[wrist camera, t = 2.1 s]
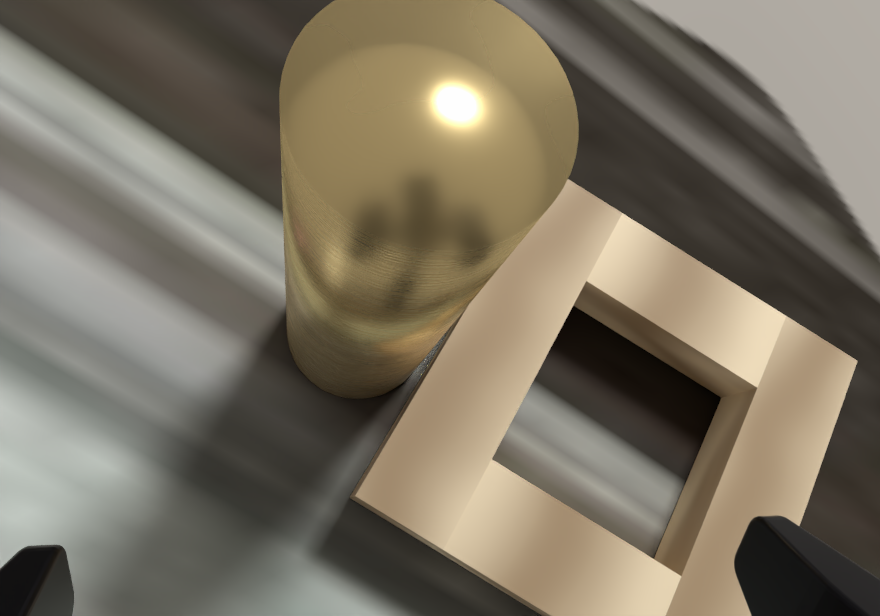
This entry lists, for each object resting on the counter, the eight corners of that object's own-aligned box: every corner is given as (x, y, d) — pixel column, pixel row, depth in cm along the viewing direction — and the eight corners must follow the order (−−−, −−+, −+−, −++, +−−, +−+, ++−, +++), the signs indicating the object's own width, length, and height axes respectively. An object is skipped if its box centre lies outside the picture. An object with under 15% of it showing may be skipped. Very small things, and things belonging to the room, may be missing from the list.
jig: (815, 372, 25) (857, 361, 23) (690, 706, 21) (729, 724, 19) (530, 193, 25) (549, 167, 23) (349, 497, 21) (355, 496, 19)
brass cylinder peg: (450, 310, 23) (624, 82, 11) (381, 425, 22) (493, 309, 10) (336, 239, 23) (384, -69, 11) (258, 350, 22) (214, 136, 10)
